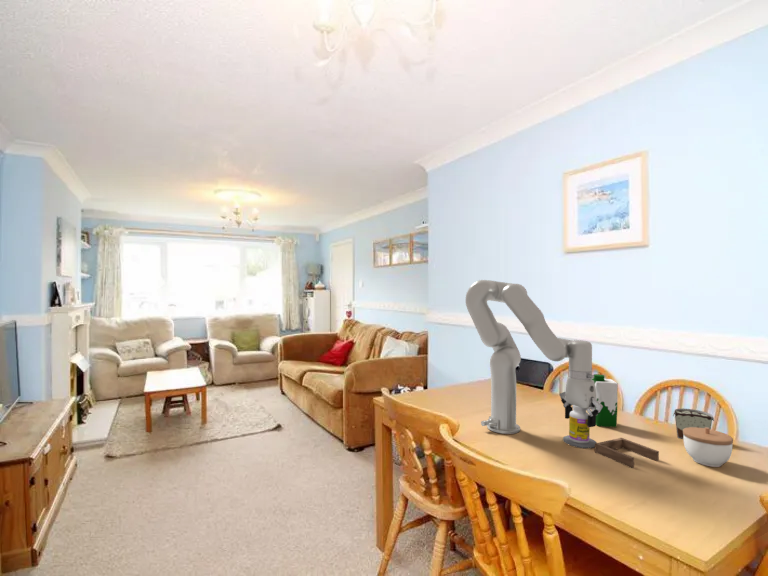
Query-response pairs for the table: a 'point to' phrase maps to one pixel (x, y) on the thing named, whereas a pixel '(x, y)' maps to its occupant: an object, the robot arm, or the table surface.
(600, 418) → the milk carton
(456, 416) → the table surface
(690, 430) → the lidded bowl
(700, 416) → the food container
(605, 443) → the holder
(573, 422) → the supplement bottle
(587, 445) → the mat
